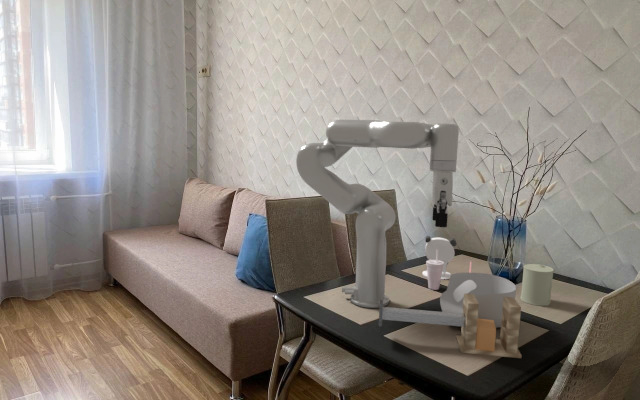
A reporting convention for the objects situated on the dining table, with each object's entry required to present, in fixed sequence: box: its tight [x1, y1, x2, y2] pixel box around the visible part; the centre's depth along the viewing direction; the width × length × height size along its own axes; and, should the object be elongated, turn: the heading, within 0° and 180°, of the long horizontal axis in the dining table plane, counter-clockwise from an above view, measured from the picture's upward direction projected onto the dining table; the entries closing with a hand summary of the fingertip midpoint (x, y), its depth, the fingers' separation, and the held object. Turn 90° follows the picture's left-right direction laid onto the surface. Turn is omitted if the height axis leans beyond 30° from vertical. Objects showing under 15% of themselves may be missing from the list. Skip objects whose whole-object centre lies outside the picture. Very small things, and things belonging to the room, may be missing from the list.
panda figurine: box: [422, 235, 457, 281], centre depth 174 cm, size 12×11×15 cm
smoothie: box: [425, 250, 444, 291], centre depth 159 cm, size 6×6×14 cm
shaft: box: [378, 300, 466, 327], centre depth 117 cm, size 22×6×5 cm, turn 80°
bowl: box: [439, 272, 517, 329], centre depth 132 cm, size 20×19×12 cm
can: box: [520, 263, 555, 307], centre depth 149 cm, size 9×9×12 cm
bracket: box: [456, 293, 522, 359], centre depth 114 cm, size 14×8×13 cm, turn 80°
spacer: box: [475, 318, 497, 351], centre depth 115 cm, size 4×6×6 cm
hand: (439, 223), depth 132 cm, fingers open, 9 cm apart
